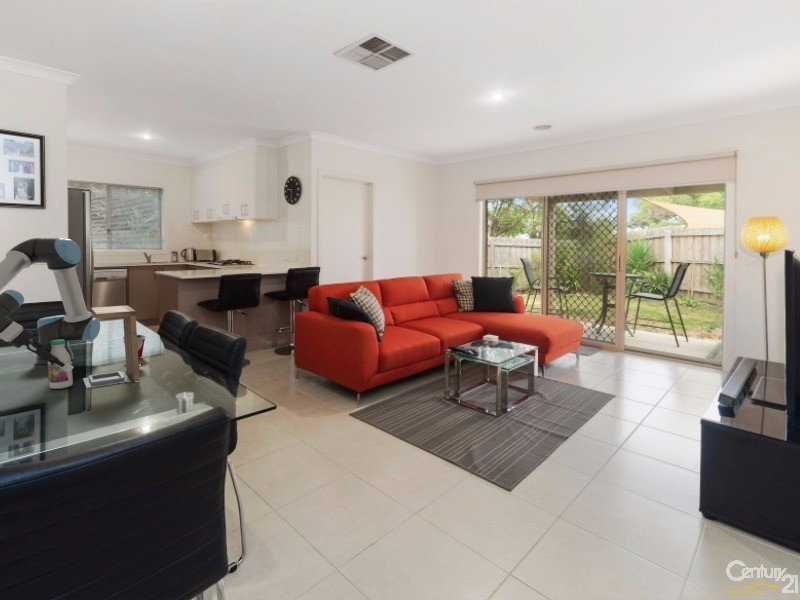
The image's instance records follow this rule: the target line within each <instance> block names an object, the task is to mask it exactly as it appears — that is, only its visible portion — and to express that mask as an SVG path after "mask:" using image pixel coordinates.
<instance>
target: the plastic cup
mask: <svg viewBox="0 0 800 600" xmlns="http://www.w3.org/2000/svg"><path fill="white" fill-rule="evenodd" d="M141 335H142V346H141V348H140V349H139V350H138V358H140V357H143V352H144V345H145V341H146V338H147V336H146V335H143V334H141ZM122 339H123V340H124V336H122ZM140 359H141V358H140Z"/></svg>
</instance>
